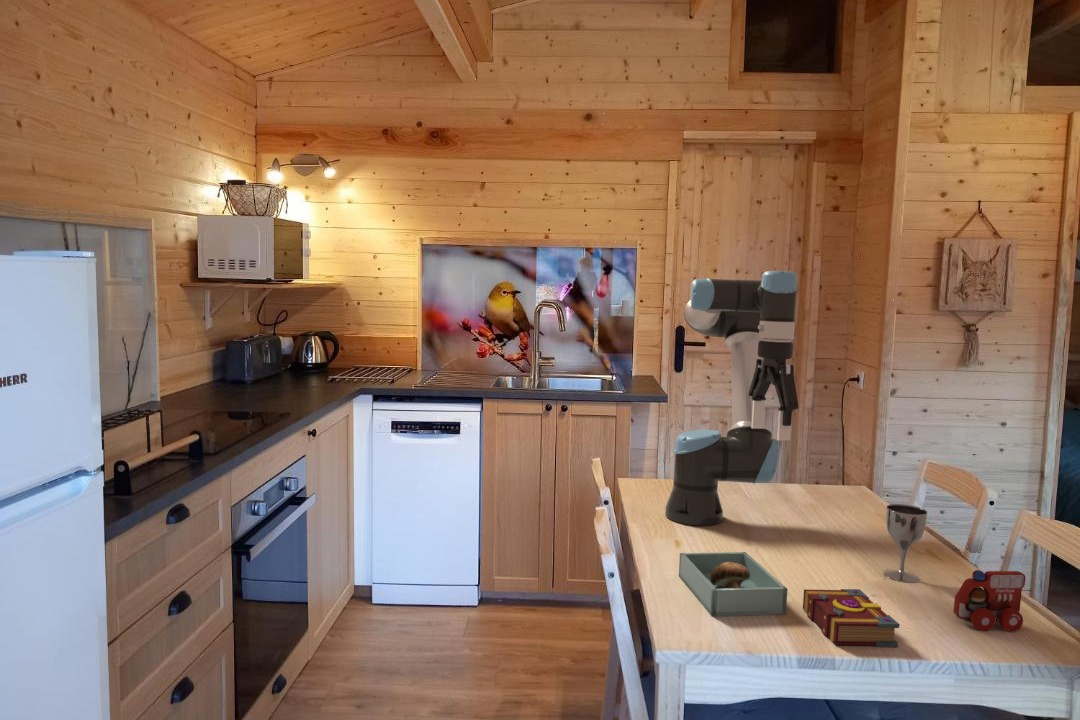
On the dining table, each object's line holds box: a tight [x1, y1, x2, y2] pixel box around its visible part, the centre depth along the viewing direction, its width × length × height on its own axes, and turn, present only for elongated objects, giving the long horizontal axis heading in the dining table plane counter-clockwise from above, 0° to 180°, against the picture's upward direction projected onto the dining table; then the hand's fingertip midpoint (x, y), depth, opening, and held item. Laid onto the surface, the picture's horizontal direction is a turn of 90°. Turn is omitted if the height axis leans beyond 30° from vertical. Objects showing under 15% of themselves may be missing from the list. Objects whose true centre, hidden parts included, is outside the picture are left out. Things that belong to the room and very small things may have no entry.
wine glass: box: [883, 503, 928, 584], centre depth 162 cm, size 8×8×15 cm
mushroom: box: [710, 562, 750, 588], centre depth 150 cm, size 8×8×6 cm
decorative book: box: [802, 588, 900, 648], centre depth 137 cm, size 11×16×5 cm
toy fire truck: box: [953, 569, 1026, 632], centre depth 140 cm, size 7×12×10 cm, turn 91°
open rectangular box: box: [678, 551, 788, 617], centre depth 150 cm, size 20×15×5 cm
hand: (770, 434), depth 169 cm, fingers open, 13 cm apart
